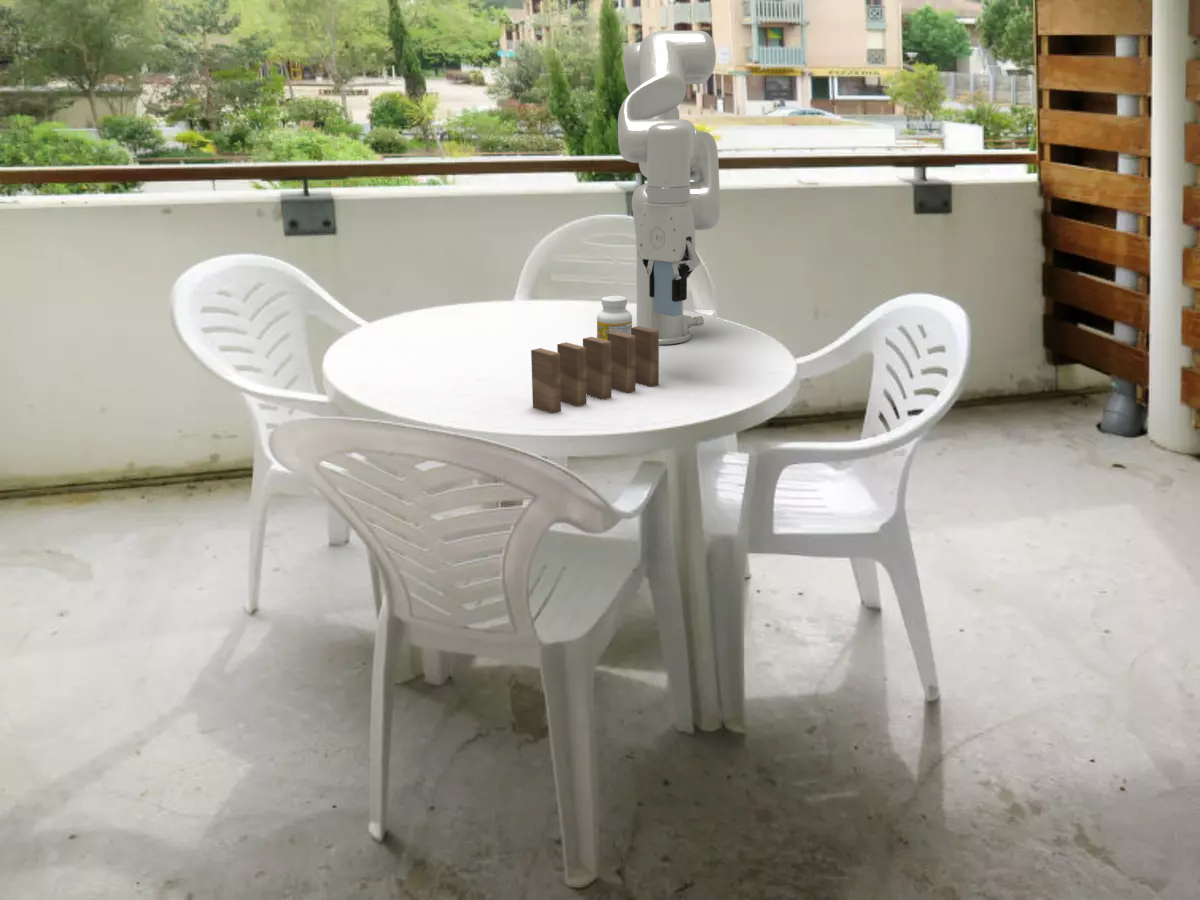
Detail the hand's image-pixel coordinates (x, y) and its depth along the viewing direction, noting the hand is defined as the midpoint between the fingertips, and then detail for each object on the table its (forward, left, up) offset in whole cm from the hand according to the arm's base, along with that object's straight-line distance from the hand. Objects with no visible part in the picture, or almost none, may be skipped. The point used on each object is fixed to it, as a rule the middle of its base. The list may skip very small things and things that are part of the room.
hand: (667, 297), depth 233 cm
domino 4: (+11, +3, -15) cm, 19 cm away
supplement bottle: (+4, -13, -15) cm, 20 cm away
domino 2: (+22, +6, -15) cm, 27 cm away
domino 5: (+5, +1, -15) cm, 16 cm away
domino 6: (0, 0, -3) cm, 3 cm away
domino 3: (+17, +4, -15) cm, 23 cm away
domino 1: (+28, +7, -15) cm, 33 cm away
